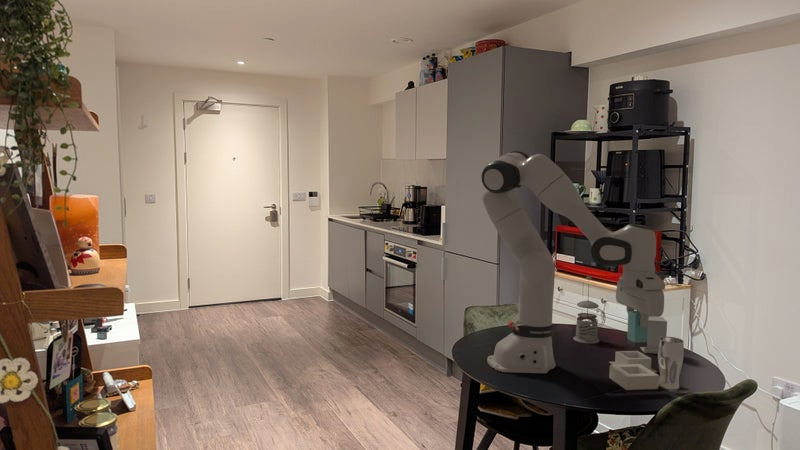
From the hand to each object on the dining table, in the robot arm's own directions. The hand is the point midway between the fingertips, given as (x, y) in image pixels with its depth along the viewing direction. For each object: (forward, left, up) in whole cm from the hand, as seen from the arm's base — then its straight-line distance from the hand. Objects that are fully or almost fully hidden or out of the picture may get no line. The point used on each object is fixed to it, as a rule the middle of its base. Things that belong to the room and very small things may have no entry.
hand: (637, 324), depth 167 cm
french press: (+9, +47, -20) cm, 52 cm away
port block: (0, 0, -19) cm, 19 cm away
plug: (0, 0, -7) cm, 7 cm away
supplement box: (+25, +30, -20) cm, 44 cm away
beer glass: (+10, -3, -19) cm, 22 cm away
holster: (+8, +14, -19) cm, 25 cm away
